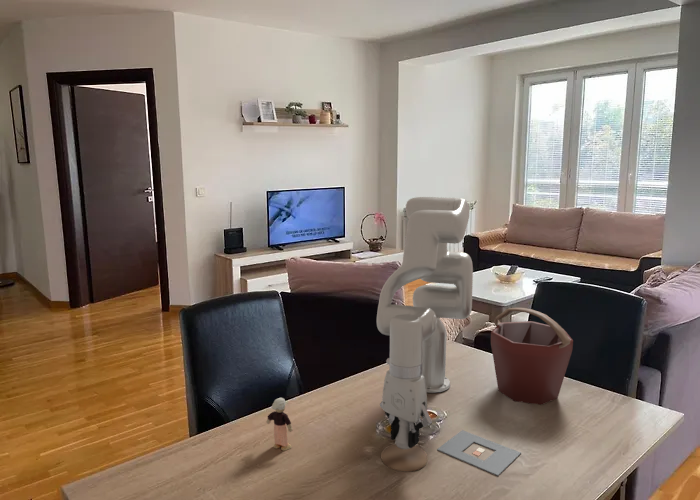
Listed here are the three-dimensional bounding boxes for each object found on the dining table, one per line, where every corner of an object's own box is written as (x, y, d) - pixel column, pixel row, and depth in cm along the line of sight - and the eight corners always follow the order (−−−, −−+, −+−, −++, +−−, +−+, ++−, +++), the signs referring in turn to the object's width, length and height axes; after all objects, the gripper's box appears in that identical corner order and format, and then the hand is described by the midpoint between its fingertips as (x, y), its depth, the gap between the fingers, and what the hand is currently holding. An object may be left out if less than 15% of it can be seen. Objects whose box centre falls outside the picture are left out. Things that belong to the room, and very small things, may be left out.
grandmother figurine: (297, 444, 133) (296, 397, 131) (291, 453, 130) (290, 404, 127) (270, 439, 136) (268, 392, 133) (262, 447, 132) (261, 399, 130)
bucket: (474, 380, 170) (477, 304, 166) (532, 370, 178) (536, 297, 173) (524, 415, 148) (529, 328, 143) (587, 402, 155) (594, 319, 150)
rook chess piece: (413, 451, 124) (413, 419, 123) (393, 449, 125) (394, 417, 124) (414, 441, 129) (415, 409, 127) (396, 439, 129) (396, 408, 128)
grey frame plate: (437, 450, 131) (437, 449, 131) (462, 431, 140) (462, 430, 140) (497, 476, 120) (498, 475, 120) (521, 453, 129) (521, 452, 129)
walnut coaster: (371, 459, 127) (371, 457, 127) (399, 440, 135) (399, 438, 135) (409, 477, 120) (409, 475, 120) (436, 456, 128) (436, 454, 128)
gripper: (367, 363, 126) (366, 435, 129) (427, 384, 115) (425, 462, 118) (386, 354, 132) (386, 423, 135) (446, 373, 121) (443, 448, 124)
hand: (404, 440), depth 127 cm, fingers closed on rook chess piece, 4 cm apart
